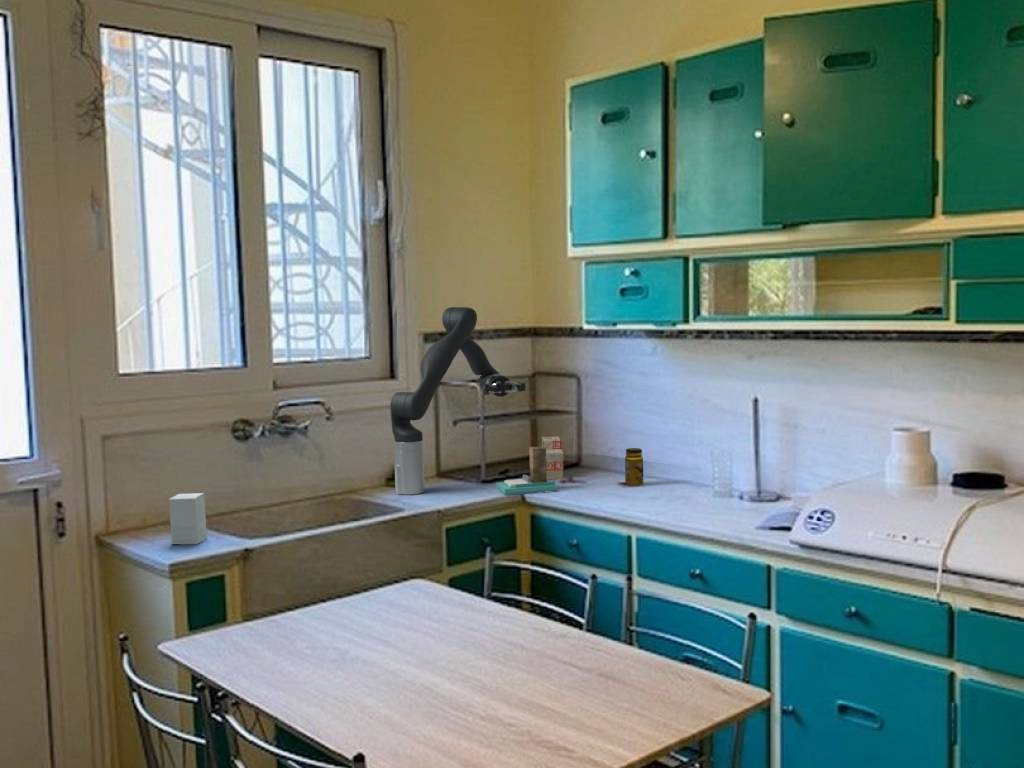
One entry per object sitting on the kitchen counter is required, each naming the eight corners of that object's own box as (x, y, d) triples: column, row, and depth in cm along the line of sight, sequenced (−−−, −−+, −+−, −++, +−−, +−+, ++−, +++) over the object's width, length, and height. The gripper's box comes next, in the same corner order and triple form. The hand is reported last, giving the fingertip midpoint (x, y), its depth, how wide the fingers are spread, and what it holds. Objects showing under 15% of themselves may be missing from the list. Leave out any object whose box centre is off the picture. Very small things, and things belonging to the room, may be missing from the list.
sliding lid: (510, 487, 326) (510, 479, 326) (504, 482, 334) (504, 475, 334) (532, 485, 328) (532, 478, 328) (526, 481, 336) (526, 474, 335)
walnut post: (533, 488, 330) (532, 449, 329) (530, 485, 334) (529, 447, 333) (547, 487, 331) (546, 448, 330) (543, 485, 335) (542, 446, 334)
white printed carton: (563, 479, 350) (563, 444, 349) (545, 479, 350) (545, 444, 349) (559, 468, 371) (558, 435, 370) (542, 469, 371) (541, 436, 370)
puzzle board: (505, 495, 324) (504, 486, 323) (496, 488, 335) (496, 479, 335) (555, 491, 328) (555, 482, 328) (545, 485, 339) (545, 476, 339)
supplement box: (207, 538, 276) (205, 492, 275) (197, 544, 269) (195, 498, 268) (181, 538, 277) (178, 493, 276) (170, 545, 269) (167, 498, 268)
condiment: (647, 486, 333) (646, 450, 332) (622, 487, 332) (621, 451, 331) (641, 482, 340) (640, 446, 339) (616, 483, 339) (616, 448, 338)
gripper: (517, 394, 363) (529, 398, 347) (479, 396, 359) (489, 401, 344) (517, 373, 362) (528, 377, 347) (478, 375, 359) (488, 379, 343)
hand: (509, 389), depth 345 cm, fingers open, 8 cm apart
